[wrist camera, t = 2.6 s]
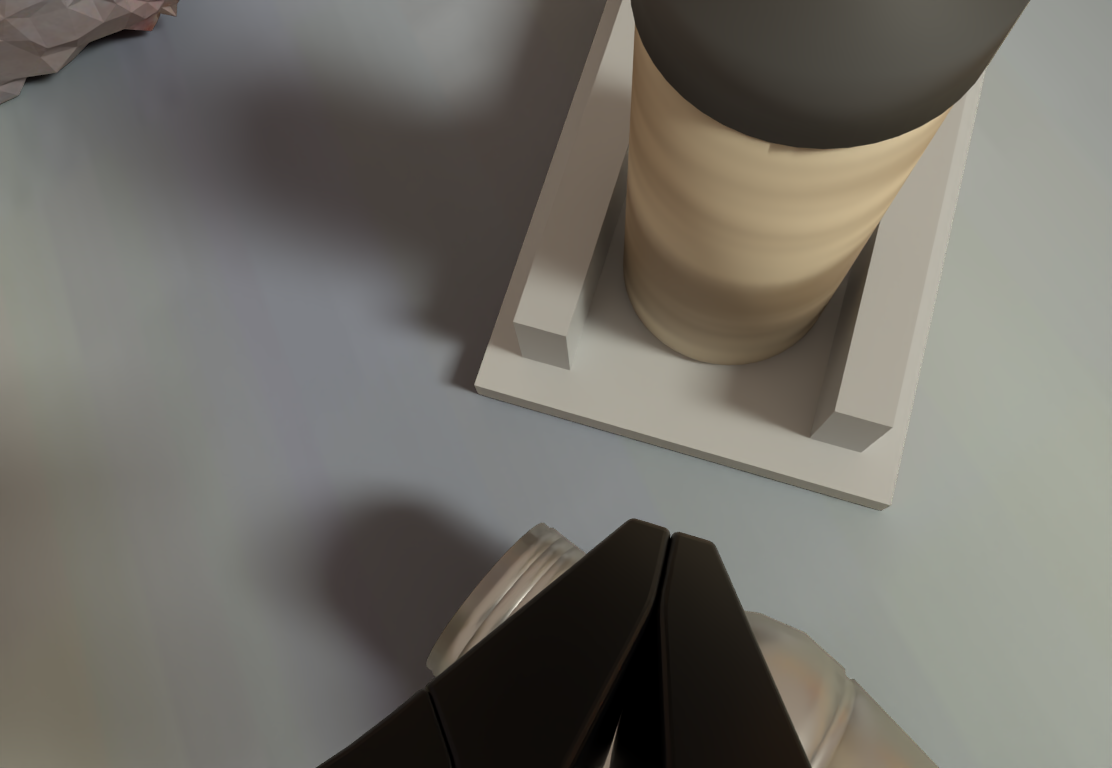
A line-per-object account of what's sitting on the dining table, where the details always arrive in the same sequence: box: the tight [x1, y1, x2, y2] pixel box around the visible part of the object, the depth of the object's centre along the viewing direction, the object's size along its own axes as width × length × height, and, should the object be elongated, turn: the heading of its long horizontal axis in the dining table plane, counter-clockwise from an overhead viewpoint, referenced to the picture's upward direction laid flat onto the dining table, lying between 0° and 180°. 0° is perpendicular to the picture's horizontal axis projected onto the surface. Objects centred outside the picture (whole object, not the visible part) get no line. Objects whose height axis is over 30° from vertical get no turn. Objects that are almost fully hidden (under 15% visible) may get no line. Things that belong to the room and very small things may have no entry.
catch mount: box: [474, 0, 1030, 511], centre depth 22 cm, size 17×10×5 cm, turn 163°
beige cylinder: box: [623, 0, 1030, 365], centre depth 17 cm, size 5×5×12 cm
